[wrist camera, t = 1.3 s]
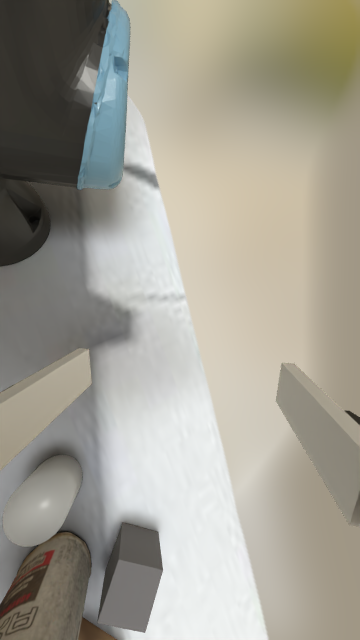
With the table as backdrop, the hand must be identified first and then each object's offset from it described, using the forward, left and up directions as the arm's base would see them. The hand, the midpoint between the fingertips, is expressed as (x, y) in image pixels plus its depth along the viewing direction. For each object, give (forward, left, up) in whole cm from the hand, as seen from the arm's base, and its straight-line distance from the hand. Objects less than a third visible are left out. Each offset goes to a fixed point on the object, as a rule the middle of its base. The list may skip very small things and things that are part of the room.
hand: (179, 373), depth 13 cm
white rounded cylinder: (+3, -18, -18) cm, 26 cm away
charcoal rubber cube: (+16, -16, -18) cm, 29 cm away
